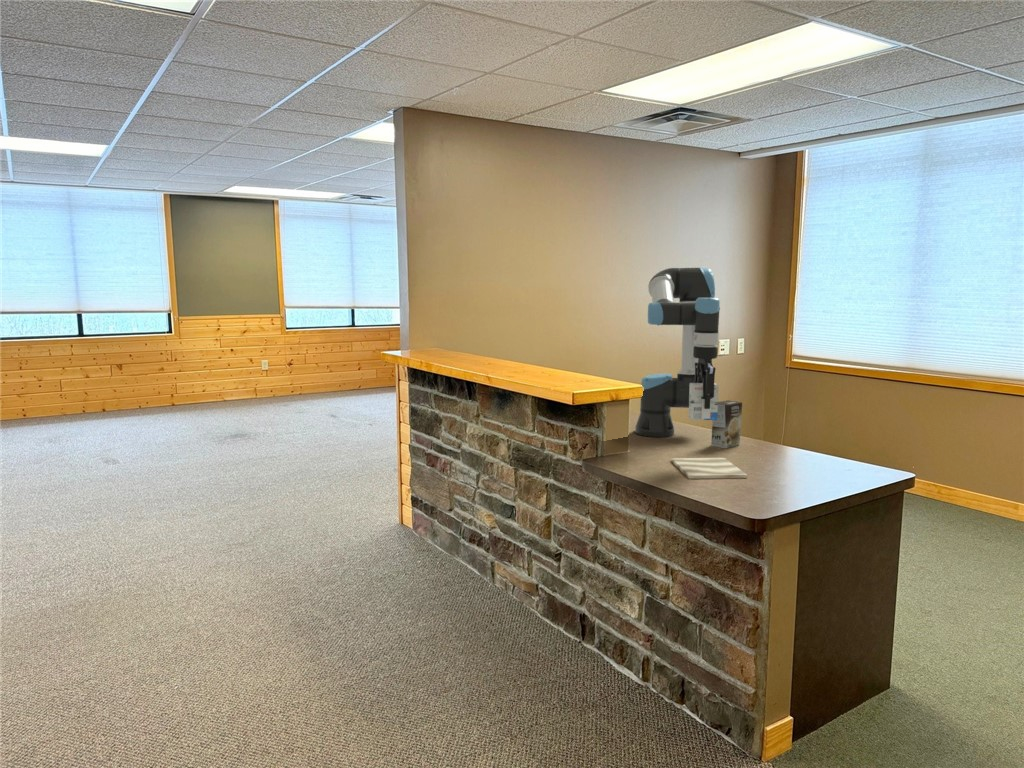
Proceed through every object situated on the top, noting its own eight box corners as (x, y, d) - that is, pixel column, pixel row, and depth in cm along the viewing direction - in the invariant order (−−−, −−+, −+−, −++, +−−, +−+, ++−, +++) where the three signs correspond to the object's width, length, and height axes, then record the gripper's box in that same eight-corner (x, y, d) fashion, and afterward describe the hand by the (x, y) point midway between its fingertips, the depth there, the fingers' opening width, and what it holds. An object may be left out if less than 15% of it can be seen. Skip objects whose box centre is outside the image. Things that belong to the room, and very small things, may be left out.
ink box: (714, 417, 227) (716, 382, 225) (717, 420, 222) (719, 384, 220) (688, 417, 228) (689, 382, 226) (690, 420, 223) (691, 384, 221)
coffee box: (725, 449, 246) (727, 405, 244) (710, 445, 251) (712, 402, 249) (740, 445, 252) (742, 402, 249) (725, 441, 257) (727, 399, 254)
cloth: (671, 461, 230) (671, 458, 230) (724, 460, 230) (724, 457, 230) (689, 478, 210) (689, 475, 210) (746, 477, 211) (747, 474, 211)
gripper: (685, 343, 230) (683, 411, 234) (703, 348, 212) (700, 422, 215) (707, 343, 230) (704, 411, 234) (727, 348, 212) (723, 422, 216)
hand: (702, 416), depth 225 cm, fingers closed on ink box, 5 cm apart
